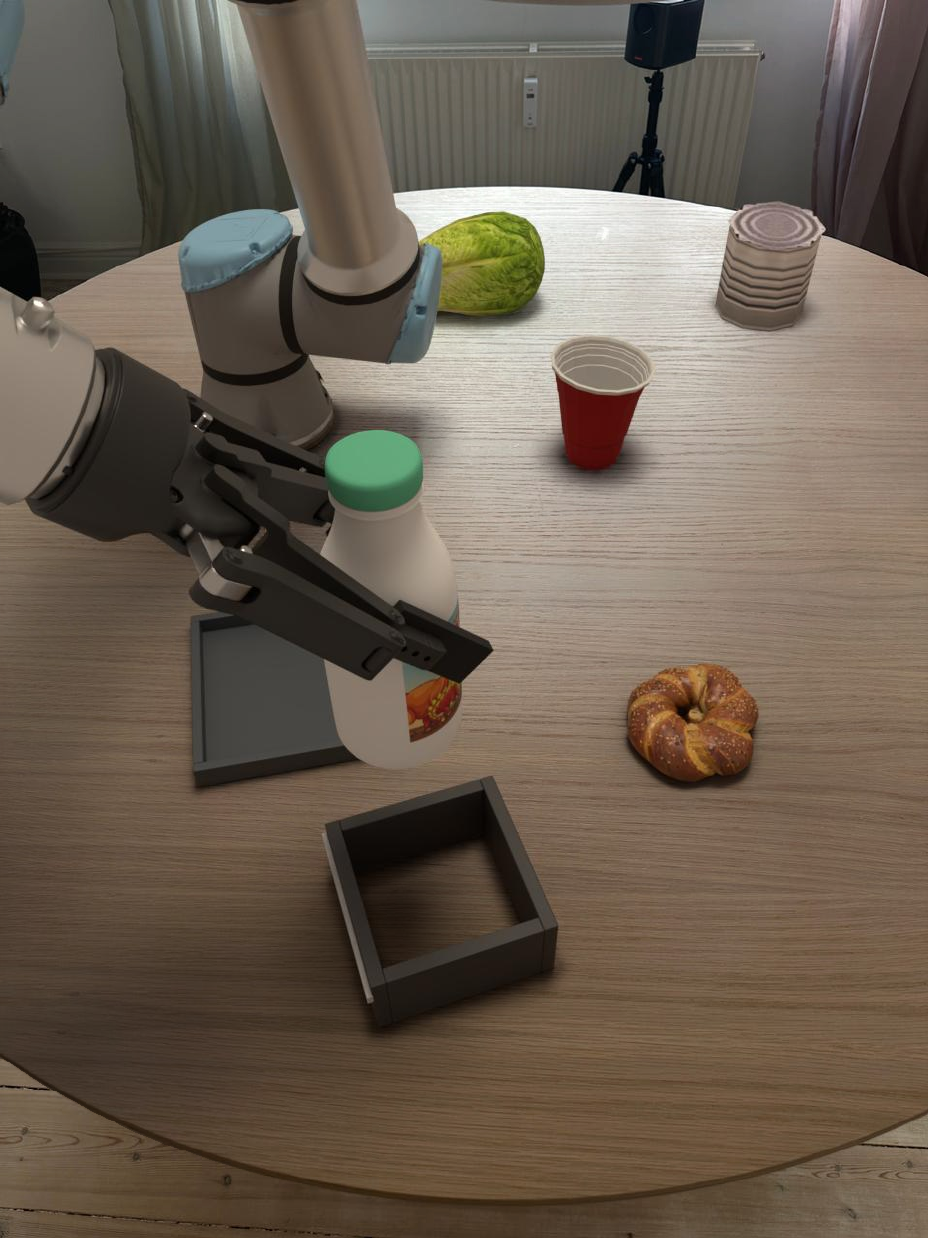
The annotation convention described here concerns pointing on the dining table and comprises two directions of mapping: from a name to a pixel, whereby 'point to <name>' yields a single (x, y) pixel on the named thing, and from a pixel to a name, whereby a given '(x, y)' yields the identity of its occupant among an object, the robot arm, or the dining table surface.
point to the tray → (257, 703)
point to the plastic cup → (598, 395)
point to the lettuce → (488, 264)
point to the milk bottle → (390, 598)
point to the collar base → (462, 964)
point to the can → (767, 265)
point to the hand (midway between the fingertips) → (448, 609)
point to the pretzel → (693, 722)
